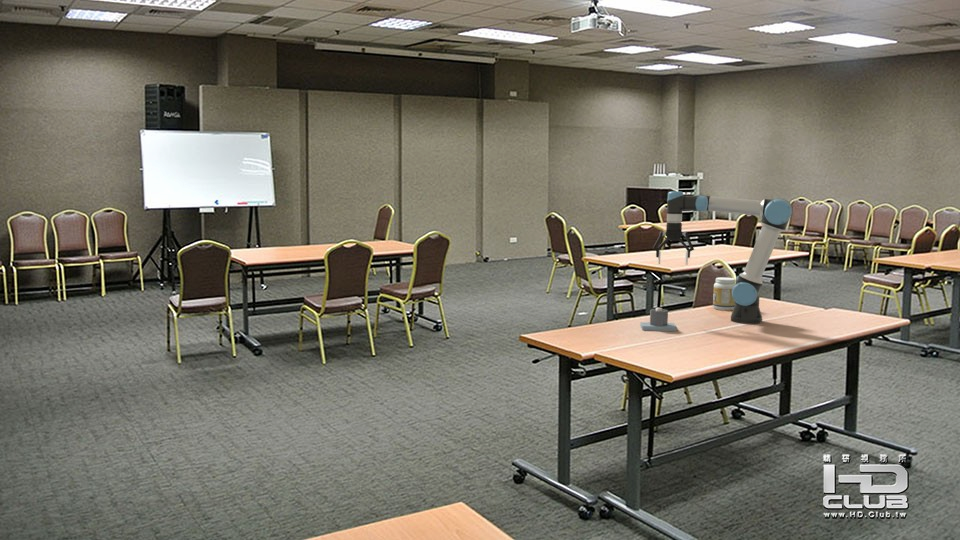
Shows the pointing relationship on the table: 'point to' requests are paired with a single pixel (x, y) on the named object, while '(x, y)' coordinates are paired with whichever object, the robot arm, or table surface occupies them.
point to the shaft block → (658, 328)
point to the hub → (658, 317)
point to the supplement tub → (723, 294)
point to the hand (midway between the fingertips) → (672, 264)
